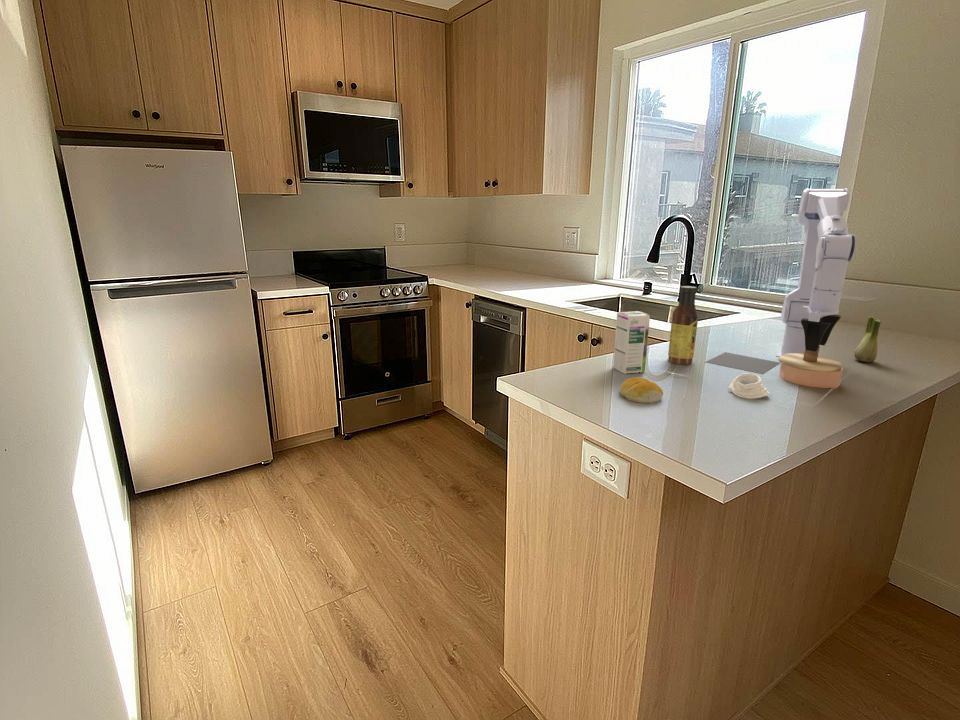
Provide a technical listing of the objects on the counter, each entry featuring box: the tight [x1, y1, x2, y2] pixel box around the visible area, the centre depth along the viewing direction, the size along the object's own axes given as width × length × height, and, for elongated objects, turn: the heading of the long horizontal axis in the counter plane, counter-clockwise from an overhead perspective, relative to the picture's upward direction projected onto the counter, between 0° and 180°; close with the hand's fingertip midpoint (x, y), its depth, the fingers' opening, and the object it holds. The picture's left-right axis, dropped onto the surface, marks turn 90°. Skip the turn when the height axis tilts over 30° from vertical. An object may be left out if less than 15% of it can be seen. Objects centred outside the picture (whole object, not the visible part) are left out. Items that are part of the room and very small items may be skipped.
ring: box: [779, 362, 844, 390], centre depth 123 cm, size 12×12×4 cm
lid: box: [778, 345, 843, 372], centre depth 123 cm, size 13×13×4 cm
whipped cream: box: [727, 372, 770, 400], centre depth 114 cm, size 8×7×5 cm
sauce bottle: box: [667, 285, 699, 366], centre depth 134 cm, size 6×6×20 cm
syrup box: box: [612, 310, 651, 375], centre depth 128 cm, size 6×6×14 cm
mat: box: [705, 352, 781, 375], centre depth 137 cm, size 14×14×1 cm
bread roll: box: [619, 376, 664, 404], centre depth 112 cm, size 8×9×4 cm
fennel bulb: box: [853, 316, 882, 363], centre depth 139 cm, size 6×5×12 cm
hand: (815, 347), depth 122 cm, fingers open, 7 cm apart
